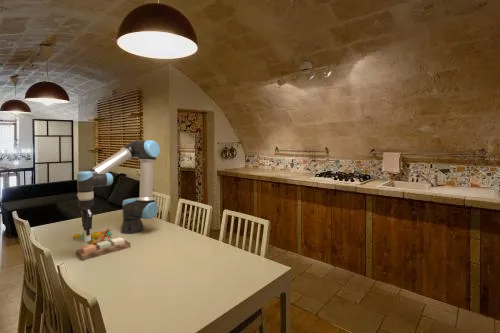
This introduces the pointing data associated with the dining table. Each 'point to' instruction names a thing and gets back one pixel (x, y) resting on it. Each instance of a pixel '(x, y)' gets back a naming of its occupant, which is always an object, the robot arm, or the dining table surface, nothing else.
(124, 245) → the board
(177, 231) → the dining table surface
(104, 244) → the tile sage
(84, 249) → the tile terracotta
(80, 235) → the toy gun
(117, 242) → the tile cream
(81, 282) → the dining table surface
